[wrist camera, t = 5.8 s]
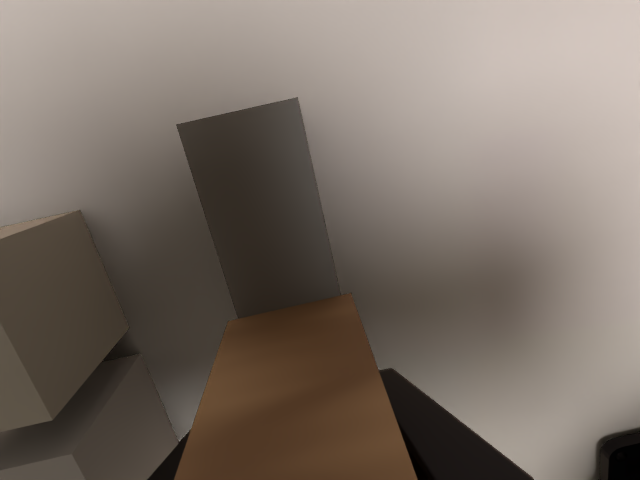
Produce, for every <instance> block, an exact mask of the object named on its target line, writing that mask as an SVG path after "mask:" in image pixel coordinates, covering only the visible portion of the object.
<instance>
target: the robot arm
mask: <svg viewBox="0 0 640 480" xmlns="http://www.w3.org/2000/svg"><path fill="white" fill-rule="evenodd" d="M379 373H380V376H381V379H382V381H383V384H384V387H385V390H386V393H387V395H388V398H389V401H390V404H391V407H392V409H393V412H394V415H395V418H396V421H397V423H398V426H399V429H400V432H401V435H402V437H403V440H404V443H405V446H406V449H407V451H408V454H409V457H410V460H411V463H412V465H413V468H414V471H415V474H416V477H417V479H418V480H534V479H533V477H531V476H530V475H529V474H528V473H526V472H525V471H524V470H522V469H521V468H520V467H519V466H517V465H516V464H515V463H513V462H512V461H511V460H510V459H508V458H507V457H506V456H504V455H503V454H502V453H501V452H499V451H498V450H497V449H495V448H494V447H493V446H492V445H490V444H489V443H488V442H486V441H485V440H484V439H483V438H481V437H480V436H479V435H477V434H476V433H475V432H474V431H472V430H471V429H470V428H468V427H467V426H466V425H465V424H463V423H462V422H461V421H459V420H458V419H457V418H456V417H454V416H453V415H452V414H450V413H449V412H448V411H447V410H445V409H444V408H443V407H441V406H440V405H439V404H438V403H436V402H435V401H434V400H432V399H431V398H430V397H429V396H427V395H426V394H425V393H423V392H422V391H421V390H420V389H418V388H417V387H416V386H414V385H413V384H412V383H411V382H409V381H408V380H407V379H405V378H404V377H403V376H402V375H400V374H399V373H398V372H396V371H395V370H394V369H392V368H388V369H384V370H379ZM190 431H191V430H190ZM190 431H189V432H188V433H187V434H186V435H185V437H184V438H183V439H182V440H181V441H180V442H179V443H178V445H177V446H176V447H175V448H174V449H173V450H172V452H171V453H170V454H169V455H168V456H167V457H166V458H165V460H164V461H163V462H162V463H161V464H160V465H159V466H158V468H157V469H156V470H155V471H154V472H153V473H152V474H151V476H150V477H149V478H148V479H147V480H174V478H175V475H176V472H177V469H178V466H179V463H180V461H181V458H182V455H183V452H184V449H185V446H186V443H187V440H188V437H189V434H190ZM600 480H640V433H635V434H631V435H627V436H623V437H618V438H614V439H611V440H608V441H607V442H606V443H604V444H603V446H602V447H601V451H600Z"/></svg>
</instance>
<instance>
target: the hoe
mask: <svg viewBox="0 0 640 480" xmlns="http://www.w3.org/2000/svg"><path fill="white" fill-rule="evenodd" d="M176 126H177V129H178V132H179V135H180V138H181V141H182V144H183V147H184V151H185V154H186V157H187V160H188V163H189V166H190V169H191V172H192V176H193V179H194V182H195V185H196V188H197V191H198V194H199V197H200V201H201V204H202V207H203V210H204V213H205V216H206V219H207V223H208V226H209V229H210V232H211V235H212V238H213V241H214V244H215V248H216V251H217V254H218V257H219V260H220V263H221V266H222V269H223V273H224V276H225V279H226V282H227V285H228V288H229V291H230V294H231V298H232V301H233V304H234V307H235V310H236V313H237V316H238V319H235V320H231V321H228V323H227V326H226V329H225V331H224V334H223V337H222V340H221V343H220V346H219V349H218V352H217V355H216V358H215V361H214V364H213V367H212V370H211V373H210V375H209V378H208V381H207V384H206V387H205V390H204V393H203V396H202V399H201V402H200V405H199V408H198V411H197V414H196V417H195V419H194V422H193V425H192V428H191V431H190V434H189V437H188V440H187V443H186V446H185V449H184V452H183V455H182V458H181V461H180V463H179V466H178V469H177V472H176V475H175V478H174V480H418V479H417V477H416V474H415V471H414V468H413V465H412V463H411V460H410V457H409V454H408V451H407V449H406V446H405V443H404V440H403V437H402V435H401V432H400V429H399V426H398V423H397V421H396V418H395V415H394V412H393V409H392V407H391V404H390V401H389V398H388V395H387V393H386V390H385V387H384V384H383V381H382V379H381V376H380V373H379V370H378V367H377V365H376V362H375V359H374V356H373V353H372V351H371V348H370V345H369V342H368V339H367V337H366V334H365V331H364V328H363V325H362V323H361V320H360V317H359V314H358V311H357V309H356V306H355V303H354V300H353V297H352V295H351V293H349V294H345V295H341V294H340V290H339V285H338V281H337V276H336V271H335V267H334V262H333V258H332V253H331V248H330V244H329V239H328V235H327V230H326V225H325V221H324V216H323V212H322V207H321V202H320V198H319V193H318V189H317V184H316V179H315V175H314V170H313V166H312V161H311V156H310V152H309V147H308V143H307V138H306V133H305V129H304V124H303V120H302V115H301V111H300V106H299V101H298V97H297V98H293V99H288V100H284V101H279V102H275V103H270V104H266V105H261V106H257V107H252V108H248V109H244V110H239V111H235V112H230V113H226V114H221V115H217V116H212V117H208V118H203V119H199V120H195V121H190V122H186V123H181V124H177V125H176Z"/></svg>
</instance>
